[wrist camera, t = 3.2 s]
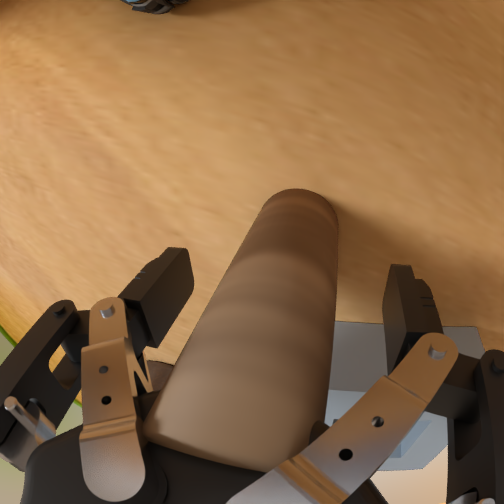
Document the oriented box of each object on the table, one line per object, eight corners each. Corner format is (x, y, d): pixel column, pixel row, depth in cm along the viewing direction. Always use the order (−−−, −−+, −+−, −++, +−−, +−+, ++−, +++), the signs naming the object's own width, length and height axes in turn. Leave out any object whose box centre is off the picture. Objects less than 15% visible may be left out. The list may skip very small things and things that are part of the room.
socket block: (296, 317, 18) (281, 384, 14) (476, 326, 15) (495, 388, 11) (291, 414, 24) (280, 463, 20) (420, 420, 21) (422, 468, 17)
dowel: (256, 187, 15) (106, 409, 5) (340, 190, 14) (325, 463, 4) (260, 258, 17) (165, 475, 7) (335, 263, 16) (304, 507, 6)
